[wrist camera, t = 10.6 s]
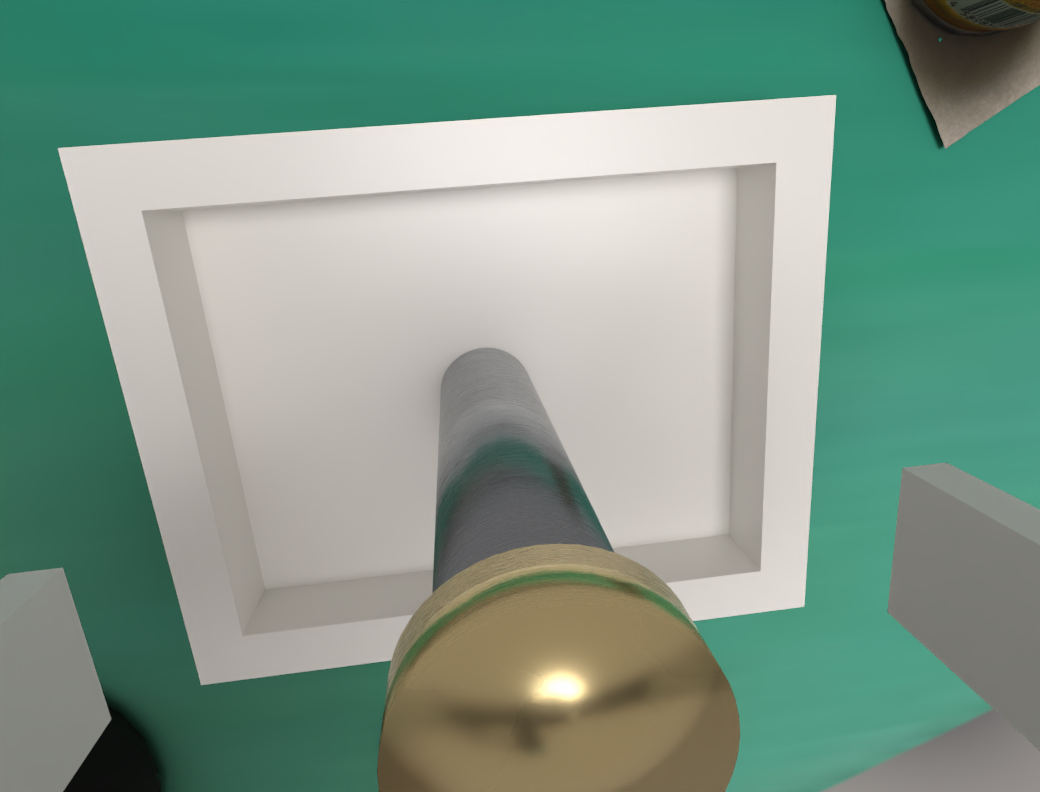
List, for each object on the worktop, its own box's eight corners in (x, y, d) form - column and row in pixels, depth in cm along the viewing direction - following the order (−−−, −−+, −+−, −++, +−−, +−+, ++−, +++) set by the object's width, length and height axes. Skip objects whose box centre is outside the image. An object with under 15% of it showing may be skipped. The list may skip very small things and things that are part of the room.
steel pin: (432, 454, 21) (402, 924, 7) (418, 338, 20) (350, 633, 6) (549, 442, 22) (735, 868, 8) (542, 326, 21) (744, 580, 6)
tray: (237, 617, 23) (201, 684, 20) (127, 159, 19) (57, 148, 16) (757, 553, 25) (804, 606, 22) (773, 114, 20) (836, 95, 17)
